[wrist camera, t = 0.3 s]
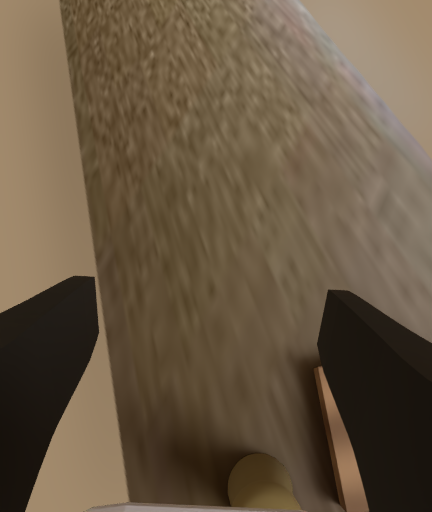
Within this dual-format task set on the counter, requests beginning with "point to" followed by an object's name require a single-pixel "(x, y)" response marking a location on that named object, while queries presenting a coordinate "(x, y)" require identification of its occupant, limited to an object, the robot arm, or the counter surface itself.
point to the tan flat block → (340, 451)
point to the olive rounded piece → (261, 484)
